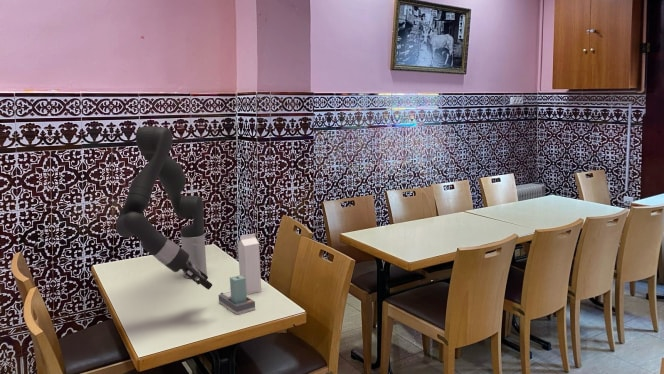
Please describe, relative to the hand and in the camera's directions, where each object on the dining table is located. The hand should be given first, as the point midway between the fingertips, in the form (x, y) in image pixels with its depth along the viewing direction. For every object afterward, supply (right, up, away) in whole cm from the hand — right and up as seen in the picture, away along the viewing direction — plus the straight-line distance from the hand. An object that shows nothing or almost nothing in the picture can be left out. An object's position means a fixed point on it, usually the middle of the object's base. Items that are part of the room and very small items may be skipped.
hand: (208, 283), depth 188 cm
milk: (+11, -7, +22) cm, 25 cm away
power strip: (+7, -9, +9) cm, 15 cm away
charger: (+10, -9, +5) cm, 14 cm away
